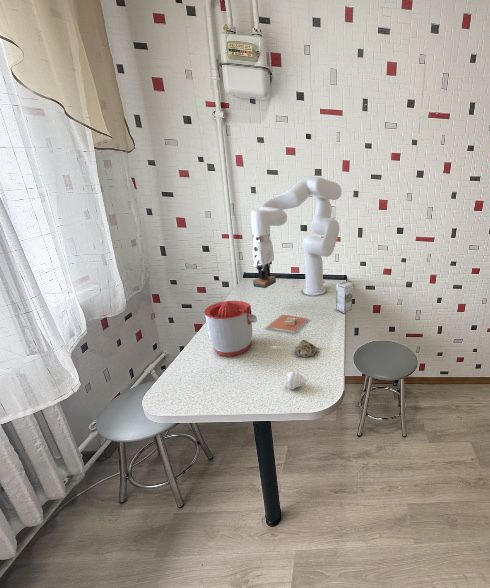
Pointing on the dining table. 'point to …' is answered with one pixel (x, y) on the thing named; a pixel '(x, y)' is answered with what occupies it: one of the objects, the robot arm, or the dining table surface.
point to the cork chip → (290, 321)
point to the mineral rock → (306, 349)
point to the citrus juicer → (230, 327)
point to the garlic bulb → (295, 380)
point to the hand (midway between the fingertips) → (264, 277)
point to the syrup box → (344, 296)
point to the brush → (264, 280)
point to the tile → (281, 325)
